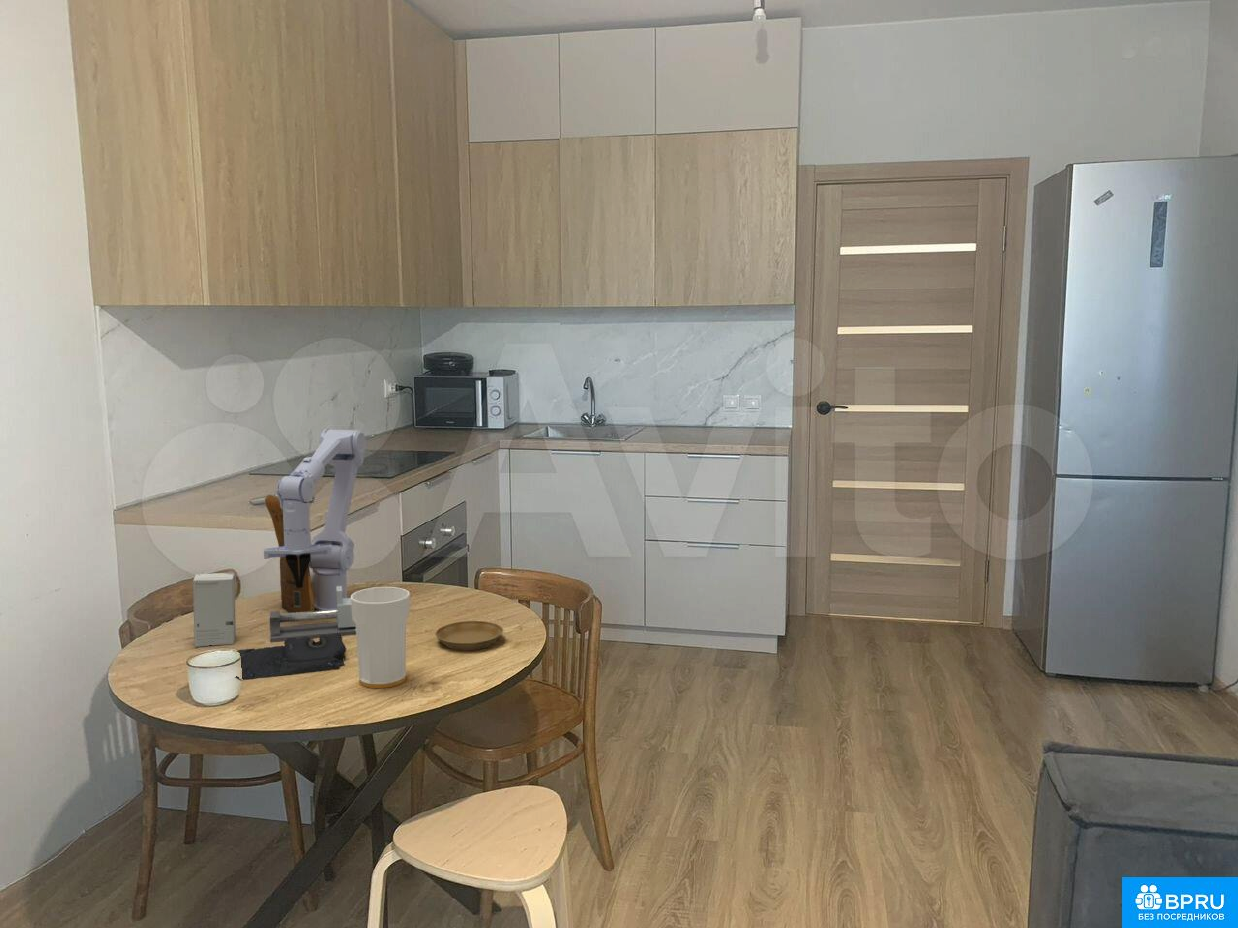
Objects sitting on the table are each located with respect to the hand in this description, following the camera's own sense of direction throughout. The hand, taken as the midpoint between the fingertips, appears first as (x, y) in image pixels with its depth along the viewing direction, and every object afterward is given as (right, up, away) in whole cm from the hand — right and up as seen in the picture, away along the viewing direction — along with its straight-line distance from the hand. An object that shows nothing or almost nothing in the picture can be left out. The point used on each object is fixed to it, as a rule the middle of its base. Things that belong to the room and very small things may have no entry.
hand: (299, 586), depth 219 cm
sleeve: (+11, -8, -1) cm, 14 cm away
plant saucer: (+40, -12, -7) cm, 42 cm away
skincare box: (-15, -11, -9) cm, 21 cm away
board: (+8, -10, -2) cm, 13 cm away
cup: (+26, -15, -30) cm, 43 cm away
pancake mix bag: (-6, -8, +13) cm, 16 cm away
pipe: (+8, -10, -2) cm, 13 cm away
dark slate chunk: (+5, -14, -21) cm, 25 cm away
